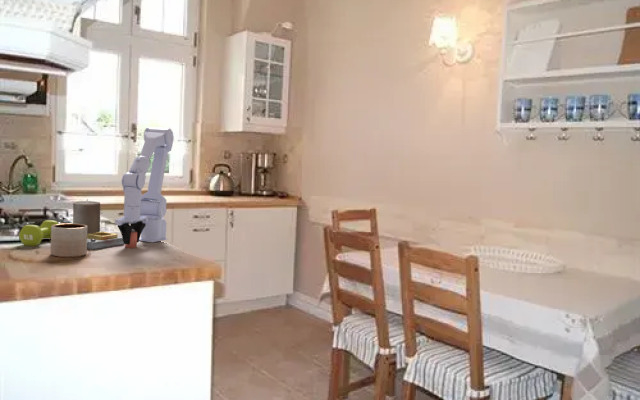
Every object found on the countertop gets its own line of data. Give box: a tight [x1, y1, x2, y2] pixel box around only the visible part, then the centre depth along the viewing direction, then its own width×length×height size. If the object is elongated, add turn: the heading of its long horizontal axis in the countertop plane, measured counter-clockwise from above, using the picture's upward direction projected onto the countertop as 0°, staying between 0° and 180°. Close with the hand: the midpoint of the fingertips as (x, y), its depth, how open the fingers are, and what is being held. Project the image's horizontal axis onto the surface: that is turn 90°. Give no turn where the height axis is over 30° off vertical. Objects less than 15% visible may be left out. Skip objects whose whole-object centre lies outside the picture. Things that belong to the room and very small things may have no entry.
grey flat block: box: [87, 231, 125, 251], centre depth 197 cm, size 18×11×4 cm, turn 156°
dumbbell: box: [18, 219, 60, 247], centre depth 196 cm, size 16×8×7 cm, turn 177°
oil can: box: [124, 229, 138, 249], centre depth 199 cm, size 4×4×6 cm
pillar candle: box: [72, 199, 101, 234], centre depth 210 cm, size 10×10×15 cm
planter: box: [50, 222, 88, 258], centre depth 179 cm, size 11×11×10 cm
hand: (131, 243), depth 199 cm, fingers closed on oil can, 4 cm apart
